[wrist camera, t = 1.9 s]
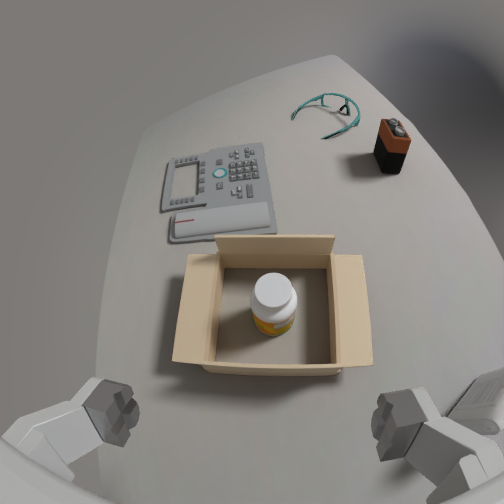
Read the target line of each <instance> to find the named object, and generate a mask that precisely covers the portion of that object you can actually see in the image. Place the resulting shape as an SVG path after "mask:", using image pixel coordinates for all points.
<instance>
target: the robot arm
mask: <svg viewBox="0 0 504 504" xmlns="http://www.w3.org/2000/svg"><path fill="white" fill-rule="evenodd" d="M133 394H134V393H133V390H132V388H131V386H129V385H126V384H122V383H118V382H114V381H110V380H106V379H102V378H98V377H91V378H90V379H89V381H87V383H86V384H85V385H84V386H83V387H82V388H81V389H80V390H79V392H78V393H77V394H76V395H75V396H74V397H73V398H72V400H71V401H70V402H69V401H64V402H62V403H59V404H56V405H54V406H51V407H48V408H46V409H43V410H40V411H37V412H34V413H32V414H29V415H26V416H23V417H20V418H18V420H17V421H15V423H14V424H13V425H12V426H11V427H10V428H9V429H8V430H7V431H6V432H5V434H4V435H3V436H2V437H0V504H119V503H116V502H114V501H111V500H109V499H106V498H104V497H101V496H99V495H97V494H94V493H92V492H90V491H88V490H86V489H84V488H81V487H79V486H77V485H75V484H73V483H72V480H73V479H74V477H75V475H74V473H73V471H72V470H71V469H70V468H69V467H68V466H67V464H69V463H71V462H72V461H74V460H76V459H77V458H79V457H81V456H83V455H84V454H86V453H88V452H89V451H91V450H93V449H94V448H96V447H97V446H99V445H101V444H102V443H103V442H106V443H110V444H113V445H116V446H120V447H124V446H125V444H126V442H127V440H128V438H129V437H130V431H129V429H131V428H133V427H135V426H136V424H137V422H138V420H139V414H140V412H139V406H138V403H137V402H136V401H135V400H134V399H133V398H132V396H133ZM377 404H378V408H377V409H376V410H375V411H374V412H373V416H372V421H371V428H372V434H373V437H374V438H375V439H377V440H378V441H379V442H378V444H377V446H376V448H377V452H378V455H379V459H380V462H382V461H387V460H393V459H398V458H403V457H404V459H405V460H406V461H407V462H409V463H410V464H411V465H412V466H413V467H414V468H416V469H417V470H418V471H419V472H420V473H422V474H423V475H424V476H425V477H426V478H427V479H429V480H430V481H431V482H432V483H434V484H435V485H436V486H437V488H436V489H435V490H434V491H433V492H432V493H431V494H430V495H429V496H428V498H427V499H426V501H427V504H504V456H503V455H502V453H501V451H500V449H499V448H498V446H497V444H496V443H495V442H494V441H492V440H490V439H488V438H486V437H484V436H482V435H480V434H478V433H476V432H474V431H472V430H470V429H468V428H466V427H464V426H462V425H460V424H458V423H457V422H455V421H453V420H451V419H449V418H447V417H441V416H440V414H439V412H438V410H437V408H436V407H435V405H434V403H433V402H432V400H431V398H430V396H429V395H428V393H427V391H426V390H425V388H424V387H422V386H420V387H415V388H410V389H405V390H400V391H394V392H388V393H382V394H380V396H379V397H378V400H377Z"/></svg>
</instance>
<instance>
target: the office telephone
mask: <svg viewBox="0 0 504 504" xmlns="http://www.w3.org/2000/svg"><path fill="white" fill-rule="evenodd" d="M198 163H200V168H199V190H198V195H195V196H188V197H182V198H176V199H171V190H172V182H173V176H174V171H175V168H178V167H182V166H187V165H192V164H198ZM199 206H205V207H204V208H199V209H193V210H187V211H181V212H175V213H173V214H172V219H171V227H170V241H171V242H172V243H174V244H177V243H190V242H200V241H215V238H214V236H215V235H276V234H277V225H276V219H275V213H274V207H273V201H272V196H271V190H270V184H269V179H268V173H267V168H266V162H265V154H264V147H263V143H252V144H244V145H237V146H230V147H223V148H217V149H212V150H210V151H209V152H208V153H203V154H197V155H192V156H187V157H181V158H172V159H170V161H169V165H168V170H167V175H166V181H165V186H164V193H163V199H162V211H163V212H168V211H173V210H179V209H185V208H192V207H199Z"/></svg>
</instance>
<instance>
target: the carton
mask: <svg viewBox="0 0 504 504" xmlns="http://www.w3.org/2000/svg"><path fill="white" fill-rule="evenodd" d="M214 238H215V241H216V244H217V247H218V250H219V251H217V253H216V254H189V256H188V261H187V266H186V272H185V277H184V283H183V289H182V295H181V301H180V307H179V314H178V320H177V327H176V334H175V341H174V348H173V356H172V361H173V362H181V363H190V364H199V365H201V366H203V369H205V370H207V371H209V372H210V373H222V374H236V375H256V376H327V375H336V374H337V373H339V372H341V369H342V368H345V367H360V366H372V365H373V355H372V339H371V326H370V315H369V305H368V296H367V288H366V280H365V273H364V266H363V259H362V255H334V252H331V250H332V247H333V243H334V240H335V235H215V236H214ZM225 268H256V269H326V271H327V286H328V302H329V323H330V362H331V364H308V365H276V364H245V363H228V362H215V359H216V348H217V338H218V327H219V317H220V308H221V298H222V289H223V280H224V271H225Z"/></svg>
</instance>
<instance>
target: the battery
mask: <svg viewBox="0 0 504 504" xmlns="http://www.w3.org/2000/svg"><path fill="white" fill-rule="evenodd" d="M410 143H411V139H410V137H409V135H408V134H407V132H406V130H405V129H404V127H403V126H402V124H401V122H400V121H397V120H396V119H394V118H391V119H390V120H389V119H382V120H381V123H380V127H379V132H378V136H377V140H376V144H375V148H374V155H375V157H376V159H377V162H378V164H379V167H380V169H381V171H382V172H383V173H398V174H399V173H400V171H401V168H402V166H403V163H404V160H405V157H406V154H407V152H408V149H409V146H410Z"/></svg>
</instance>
